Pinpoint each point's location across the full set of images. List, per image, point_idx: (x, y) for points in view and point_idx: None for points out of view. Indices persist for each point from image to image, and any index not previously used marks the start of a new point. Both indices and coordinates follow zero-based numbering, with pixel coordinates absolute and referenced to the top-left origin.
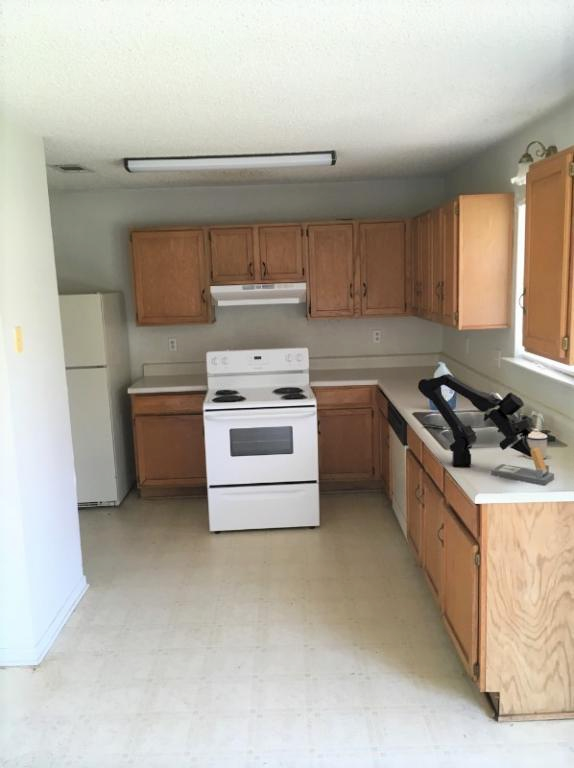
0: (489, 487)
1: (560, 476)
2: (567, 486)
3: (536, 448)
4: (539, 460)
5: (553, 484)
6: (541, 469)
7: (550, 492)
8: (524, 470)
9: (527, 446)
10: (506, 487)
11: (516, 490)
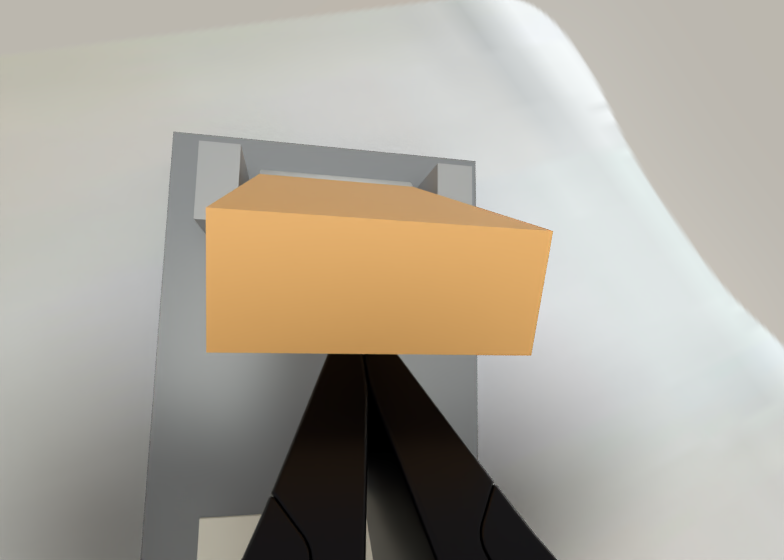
0: (762, 541)
1: (56, 116)
2: (354, 11)
3: (298, 263)
4: (417, 196)
5: (371, 122)
6: (461, 176)
7: (581, 101)
8: (256, 452)
9: (360, 531)
10: (681, 427)
11: (695, 332)
